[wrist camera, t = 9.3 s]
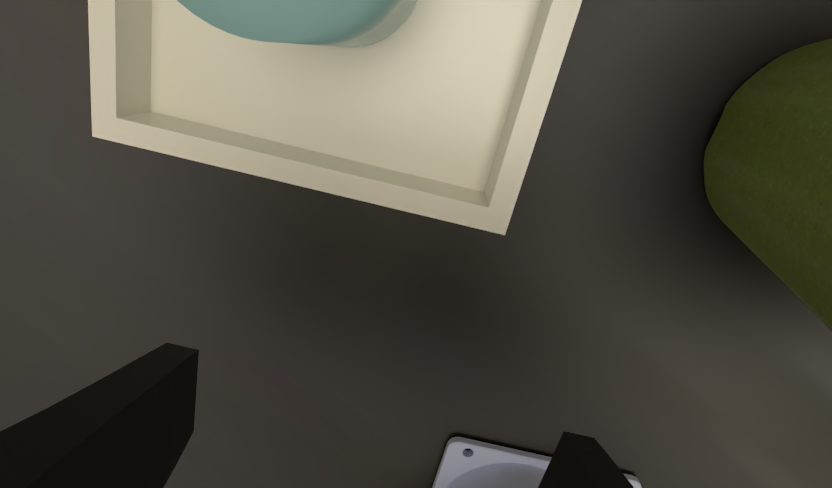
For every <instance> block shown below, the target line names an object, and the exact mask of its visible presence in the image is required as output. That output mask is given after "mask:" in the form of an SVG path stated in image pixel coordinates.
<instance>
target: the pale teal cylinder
mask: <svg viewBox="0 0 832 488" xmlns="http://www.w3.org/2000/svg"><path fill="white" fill-rule="evenodd" d="M177 1H178V2H179V3H181V4H182V5H183V6H184V7H186V8H187V9H188V10H189V11H190V12H192V13H193V14H194V15H196V16H197V17H199V18H201V19H202V20H204V21H205V22H207V23H209V24H210V25H212V26H214V27H216V28H218V29H221V30H223V31H225V32H227V33H230V34H233V35H236V36H239V37H242V38H245V39H251V40H257V41H262V42H276V43H291V44H305V45H320V46H334V47H353V48H355V47H364V46H368V45H372V44H375V43H377V42H379V41H382V40H383V39H385V38H387V37H388V36H390V35H391V34H393V33H394V32H395V31H396V30H397V29H398V28H399V27H400V26H401V25H402V24H403V23H404V22H405V21H406V19H407V18H408V17H409V15H410V14H411V12H412V10H413V8H414V7H415V5H416V2H417V0H177Z"/></svg>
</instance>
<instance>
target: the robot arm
mask: <svg viewBox="0 0 832 488" xmlns="http://www.w3.org/2000/svg"><path fill="white" fill-rule="evenodd" d="M198 353H199V350H196V349H192V348H187V347H183V346H178V345H174V344H169V343H166V344H164V345H162V346H160V347H158V348H156V349H155V350H153V351H151V352H149V353H147V354H145V355H144V356H142V357H140V358H138V359H136V360H135V361H133V362H131V363H129V364H127V365H126V366H124V367H122V368H120V369H119V370H117V371H115V372H113V373H111V374H110V375H108V376H106V377H104V378H102V379H100V380H99V381H97V382H95V383H93V384H91V385H90V386H88V387H86V388H84V389H82V390H80V391H78V392H77V393H75V394H73V395H71V396H69V397H67V398H65V399H64V400H62V401H60V402H58V403H56V404H54V405H52V406H51V407H49V408H47V409H45V410H43V411H41V412H39V413H37V414H35V415H33V416H31V417H29V418H27V419H25V420H23V421H21V422H19V423H17V424H15V425H13V426H11V427H9V428H7V429H5V430H3V431H1V432H0V488H163V487H164V485H165V484H166V482H167V480H168V478H169V477H170V475H171V473H172V471H173V469H174V467H175V466H176V464H177V462H178V460H179V458H180V456H181V454H182V452H183V450H184V449H185V447H186V445H187V443H188V441H189V439H190V437H191V435H192V433H193V431H194V415H195V400H196V384H197V368H198ZM464 449H471V450H464ZM432 488H641V484H640V482H639V480H638V478H637V477H635V476H633V475H629V474H624V473H622V472H621V470H620V469H619V468H618V467H617V465H616V464H615V463H614V462H613V460H612V459H611V458H610V457H609V455H608V454H607V453H606V452H605V450H604V449H603V448H602V447H601V446H600V445H599V443H598V442H597V441H596V440H595V439H594V438H591V437H587V436H582V435H578V434H573V433H569V432H564V433H563V435H562V437H561V439H560V441H559V443H558V445H557V448H556V450H555V452H554V454H553V456H552V457H548V456H543V455H539V454H535V453H530V452H526V451H521V450H517V449H512V448H508V447H503V446H499V445H494V444H490V443H485V442H481V441H476V440H472V439H467V438H463V437H453V438H451V439H449V441H448V442H447V445H446V448H445V451H444V454H443V457H442V459H441V462H440V465H439V468H438V471H437V474H436V477H435V480H434V483H433V486H432Z"/></svg>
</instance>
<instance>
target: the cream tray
mask: <svg viewBox="0 0 832 488" xmlns="http://www.w3.org/2000/svg"><path fill="white" fill-rule="evenodd" d="M581 3H582V0H417V2H416V5H415V7H414V8H413V10H412V12H411V14H410V15H409V17H408V18H407V19H406V21H405V22H404V23H403V24H402V25H401V26H400V27H399V28H398V29H397V30H396V31H395V32H394V33H393V34H391V35H390V36H388V37H387V38H385V39H383V40H382V41H379V42H377V43H375V44H372V45H368V46H364V47H355V48H353V47H334V46H320V45H305V44H291V43H276V42H262V41H257V40H251V39H245V38H242V37H239V36H236V35H233V34H230V33H227V32H225V31H223V30H221V29H218V28H216V27H214V26H212V25H210V24H209V23H207V22H205V21H204V20H202V19H201V18H199V17H197V16H196V15H194V14H193V13H192V12H190V11H189V10H188V9H187V8H186V7H184V6H183V5H182V4H181V3H179V2H178V1H177V0H88V16H89V49H90V81H91V113H92V136H93V137H97V138H101V139H105V140H109V141H114V142H118V143H122V144H126V145H130V146H135V147H139V148H143V149H147V150H151V151H155V152H160V153H164V154H168V155H172V156H176V157H180V158H185V159H189V160H193V161H197V162H201V163H205V164H210V165H214V166H218V167H222V168H226V169H230V170H235V171H239V172H243V173H247V174H251V175H255V176H260V177H264V178H268V179H272V180H276V181H281V182H285V183H289V184H293V185H297V186H301V187H306V188H310V189H314V190H318V191H322V192H326V193H331V194H335V195H339V196H343V197H347V198H351V199H356V200H360V201H364V202H368V203H372V204H376V205H381V206H385V207H389V208H393V209H397V210H402V211H406V212H410V213H414V214H418V215H422V216H427V217H431V218H435V219H439V220H443V221H447V222H452V223H456V224H460V225H464V226H468V227H472V228H477V229H481V230H485V231H489V232H493V233H497V234H502V235H505V234H506V231H507V227H508V224H509V221H510V218H511V215H512V212H513V209H514V206H515V203H516V200H517V197H518V194H519V191H520V188H521V185H522V182H523V179H524V176H525V173H526V170H527V167H528V164H529V161H530V158H531V155H532V152H533V149H534V145H535V142H536V139H537V136H538V133H539V130H540V127H541V124H542V121H543V118H544V115H545V112H546V109H547V106H548V103H549V100H550V97H551V94H552V91H553V88H554V85H555V82H556V79H557V76H558V73H559V70H560V67H561V64H562V60H563V57H564V54H565V51H566V48H567V45H568V42H569V39H570V36H571V33H572V30H573V27H574V24H575V21H576V18H577V15H578V12H579V9H580V6H581Z"/></svg>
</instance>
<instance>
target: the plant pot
mask: <svg viewBox="0 0 832 488" xmlns="http://www.w3.org/2000/svg"><path fill="white" fill-rule="evenodd" d="M704 182H705V190H706V194H707V197H708V200H709V203H710V205H711V206H712V208H713V210H714V212H715V213H716V214H717V216H718V217H719V218H720V219H721V221H722V222H723V223H724V224H725V225H726V226H727V227H728V228H729V229H730V230H731V231H732V232H733V233H734V234H735V235H736V236H737V237H738V238H739V239H740V240H741V241H742V242H743V243H744V244H745V245H746V246H747V247H748V248H749V249H750V250H751V251H752V252H753V253H754V254H755V255H756V256H757V257H758V258H759V259H760V260H761V261H762V262H763V263H764V264H765V265H766V266H767V267H768V268H769V269H770V270H771V271H772V272H773V273H774V274H775V275H776V276H777V277H778V278H779V279H780V280H781V281H783V282H784V284H785V285H786V286H787V287H788V288H789V289H790V290H791V291H792V292H793V293H794V294H795V295H796V296H797V297H798V298H799V299H800V300H801V301H802V302H803V303H804V304H805V305H806V306H807V307H808V308H809V309H810V310H811V311H812V312H813V313H814V314H815V315H816V316H817V317H818V318H819V319H820V320H821V321H822V322H823V323H824V324H825V325H826V326H827V327H828V328H829V329H830V330H831V331H832V38H830V39H826V40H823V41H819V42H815V43H811V44H807V45H805V46H802V47H800V48H797V49H795V50H792V51H790V52H788V53H785V54H783V55H781V56H780V57H778V58H776V59H775V60H773V61H771V62H770V63H768V64H767V65H766V66H764V67H763V68H762V69H760V70H759V71H758V72H757V73H755V74H754V75H753V76H752V77H751V78H749V79H748V80H747V81H746V82H745V83H744V84H743V85H742V86H741V87H740V88H739V89H738V90H737V91H736V92H735V93H734V95H733V96H732V97H731V98H730V100H729V101H728V103H727V104H726V106H725V108H724V111H723V114H722V116H721V118H720V121H719V123H718V125H717V127H716V129H715V131H714V133H713V135H712V137H711V139H710V141H709V143H708V145H707V148H706V150H705V156H704Z"/></svg>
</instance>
